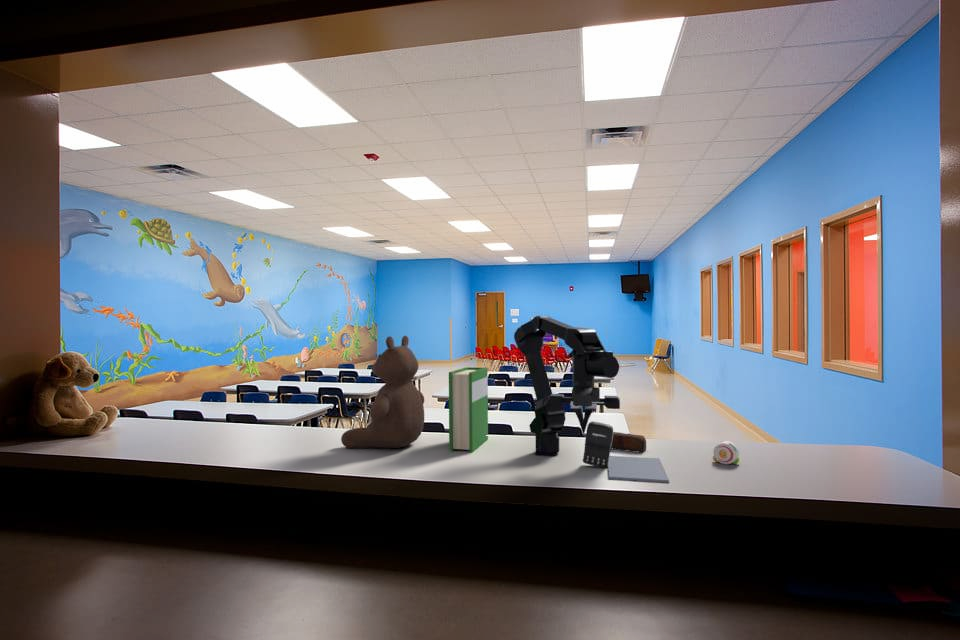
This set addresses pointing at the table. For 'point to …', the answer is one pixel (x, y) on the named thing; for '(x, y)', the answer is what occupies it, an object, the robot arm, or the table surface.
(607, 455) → the battery charger
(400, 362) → the stuffed bear
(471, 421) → the hardback book
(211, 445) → the table surface
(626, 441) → the brick
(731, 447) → the sushi roll
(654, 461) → the mat
